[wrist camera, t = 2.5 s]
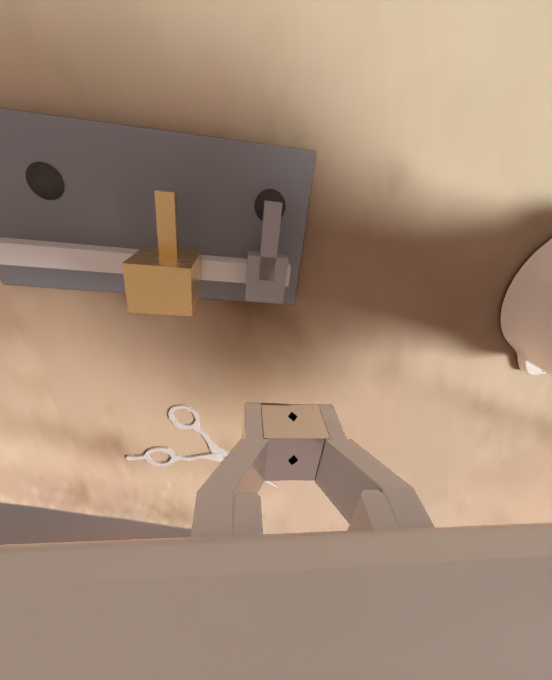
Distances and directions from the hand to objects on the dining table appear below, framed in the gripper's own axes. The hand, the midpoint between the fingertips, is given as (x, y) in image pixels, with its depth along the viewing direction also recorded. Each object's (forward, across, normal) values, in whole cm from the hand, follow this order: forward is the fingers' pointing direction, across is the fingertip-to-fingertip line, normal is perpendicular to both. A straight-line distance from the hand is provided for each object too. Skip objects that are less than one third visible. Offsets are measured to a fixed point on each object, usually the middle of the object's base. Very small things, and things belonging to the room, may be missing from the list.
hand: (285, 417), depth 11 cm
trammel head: (+17, +7, -2) cm, 19 cm away
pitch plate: (+19, +8, -3) cm, 21 cm away
